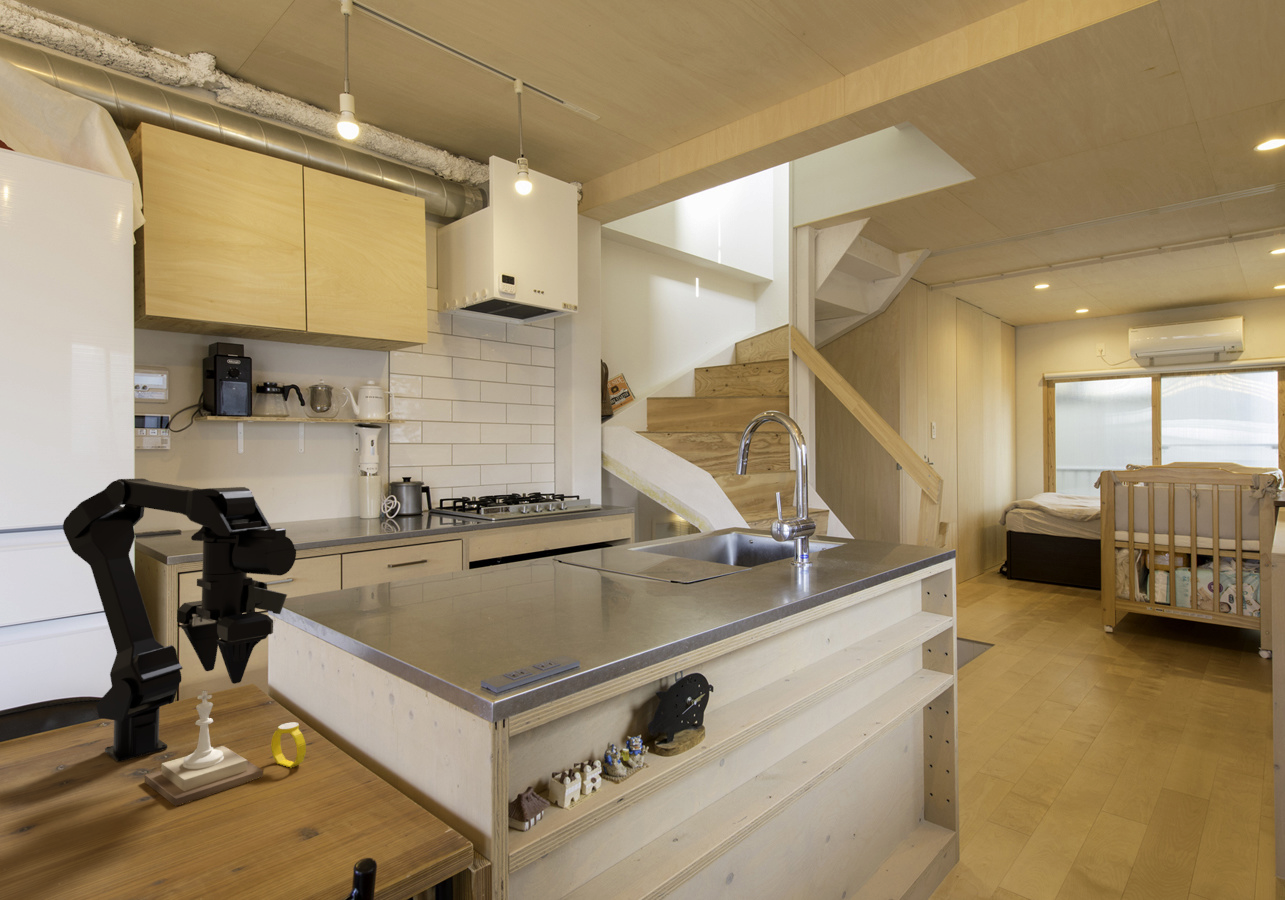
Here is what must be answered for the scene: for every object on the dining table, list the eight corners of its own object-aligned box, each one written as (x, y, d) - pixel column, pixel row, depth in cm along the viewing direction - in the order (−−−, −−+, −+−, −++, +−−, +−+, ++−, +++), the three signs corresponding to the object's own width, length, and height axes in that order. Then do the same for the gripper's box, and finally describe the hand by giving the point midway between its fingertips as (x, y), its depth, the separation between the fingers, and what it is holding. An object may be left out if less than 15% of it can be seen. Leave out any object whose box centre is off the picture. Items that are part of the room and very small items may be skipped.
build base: (144, 782, 99) (145, 764, 99) (228, 756, 107) (229, 739, 107) (175, 806, 92) (176, 787, 92) (262, 777, 101) (263, 759, 101)
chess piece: (213, 768, 98) (214, 696, 98) (175, 769, 97) (176, 697, 97) (230, 753, 102) (231, 684, 103) (194, 754, 102) (195, 685, 102)
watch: (266, 766, 105) (265, 726, 105) (283, 759, 107) (282, 719, 108) (294, 772, 102) (293, 730, 103) (310, 764, 105) (309, 724, 105)
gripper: (309, 572, 106) (307, 676, 106) (252, 559, 117) (250, 653, 117) (230, 581, 97) (227, 695, 97) (176, 567, 108) (174, 669, 108)
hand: (222, 676), depth 105 cm, fingers open, 9 cm apart
